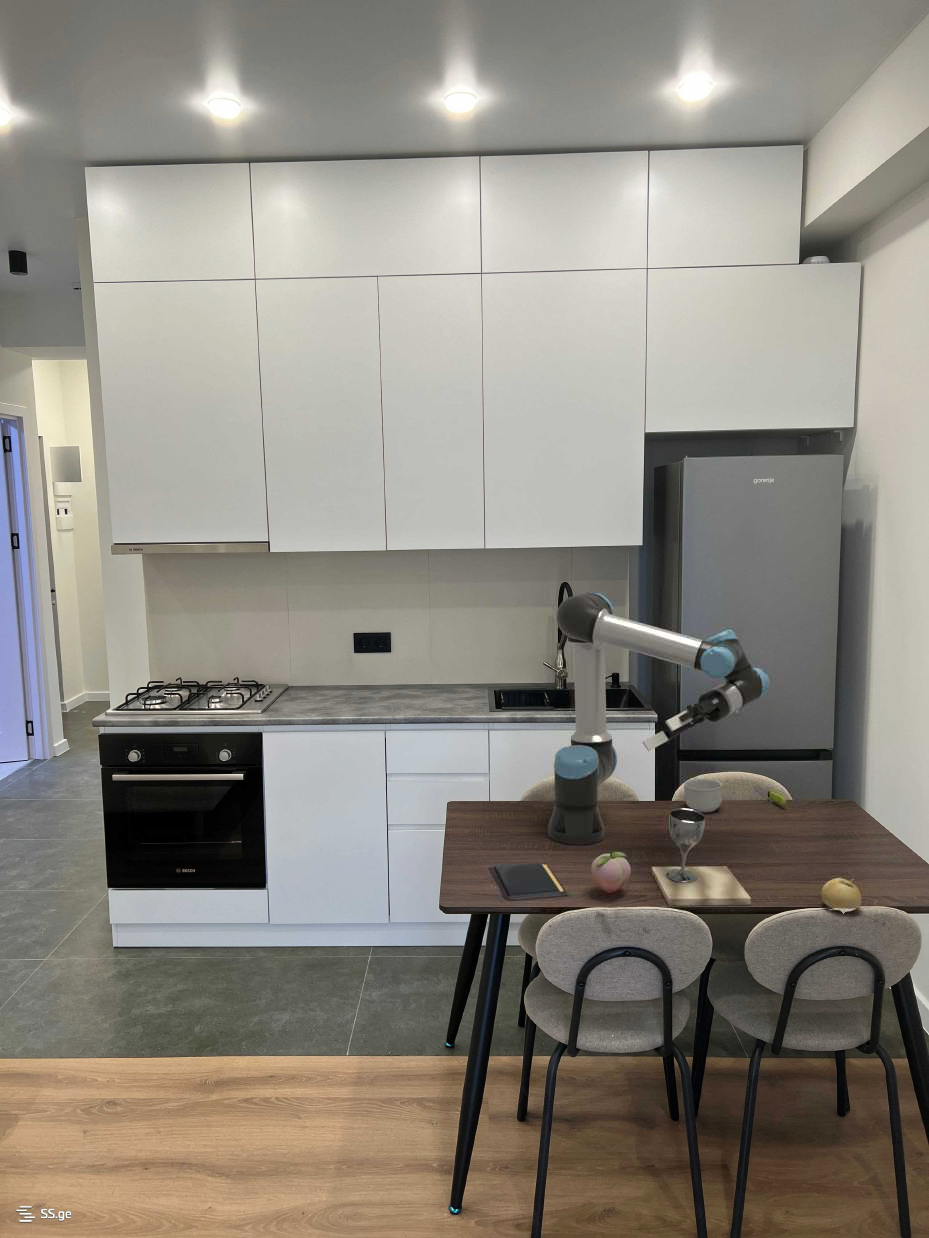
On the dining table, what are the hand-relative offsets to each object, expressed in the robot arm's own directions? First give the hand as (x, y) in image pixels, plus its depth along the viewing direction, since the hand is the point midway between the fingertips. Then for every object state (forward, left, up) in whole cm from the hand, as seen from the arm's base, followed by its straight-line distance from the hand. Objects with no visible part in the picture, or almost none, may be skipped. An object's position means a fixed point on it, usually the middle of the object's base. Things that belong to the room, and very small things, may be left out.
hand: (656, 736), depth 211 cm
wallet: (-32, -10, -33) cm, 47 cm away
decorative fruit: (-14, -17, -32) cm, 39 cm away
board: (+7, -15, -32) cm, 36 cm away
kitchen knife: (+45, +50, -32) cm, 75 cm away
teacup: (+23, +42, -32) cm, 58 cm away
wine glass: (+4, -12, -31) cm, 33 cm away
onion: (+35, -26, -32) cm, 54 cm away
